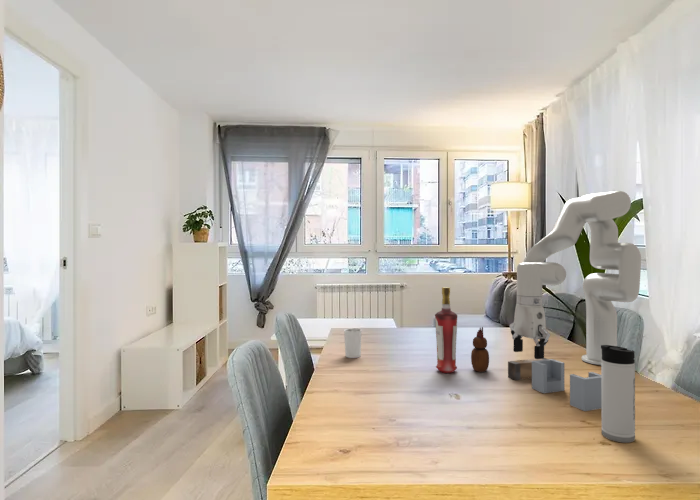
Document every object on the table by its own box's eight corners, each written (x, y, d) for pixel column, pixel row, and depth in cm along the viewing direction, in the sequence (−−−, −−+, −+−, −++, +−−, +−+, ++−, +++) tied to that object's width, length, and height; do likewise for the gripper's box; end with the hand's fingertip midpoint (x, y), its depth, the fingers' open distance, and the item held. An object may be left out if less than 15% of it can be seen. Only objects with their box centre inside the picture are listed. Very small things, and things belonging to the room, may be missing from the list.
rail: (508, 377, 141) (508, 361, 141) (543, 372, 146) (543, 357, 146) (515, 380, 138) (515, 364, 138) (551, 375, 142) (551, 360, 142)
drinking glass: (362, 354, 173) (362, 328, 173) (361, 358, 166) (360, 331, 166) (345, 353, 174) (345, 328, 173) (343, 358, 167) (343, 331, 167)
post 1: (552, 385, 132) (552, 358, 132) (564, 390, 128) (564, 362, 128) (531, 388, 130) (531, 361, 130) (543, 393, 126) (543, 365, 125)
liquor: (433, 368, 152) (433, 286, 152) (455, 368, 152) (454, 286, 152) (437, 374, 145) (436, 288, 145) (459, 374, 145) (459, 288, 144)
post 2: (584, 411, 112) (584, 379, 112) (569, 404, 116) (569, 374, 116) (607, 407, 114) (607, 376, 114) (592, 401, 119) (591, 371, 119)
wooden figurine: (490, 373, 145) (489, 328, 145) (471, 372, 146) (471, 327, 146) (488, 368, 152) (487, 324, 152) (470, 367, 153) (470, 323, 153)
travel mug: (593, 431, 100) (593, 342, 100) (621, 430, 100) (621, 342, 100) (612, 443, 94) (612, 349, 93) (642, 442, 94) (641, 348, 94)
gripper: (559, 304, 134) (558, 360, 134) (520, 298, 151) (519, 348, 151) (538, 304, 132) (537, 362, 132) (501, 298, 149) (501, 349, 149)
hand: (528, 355), depth 141 cm, fingers open, 9 cm apart
